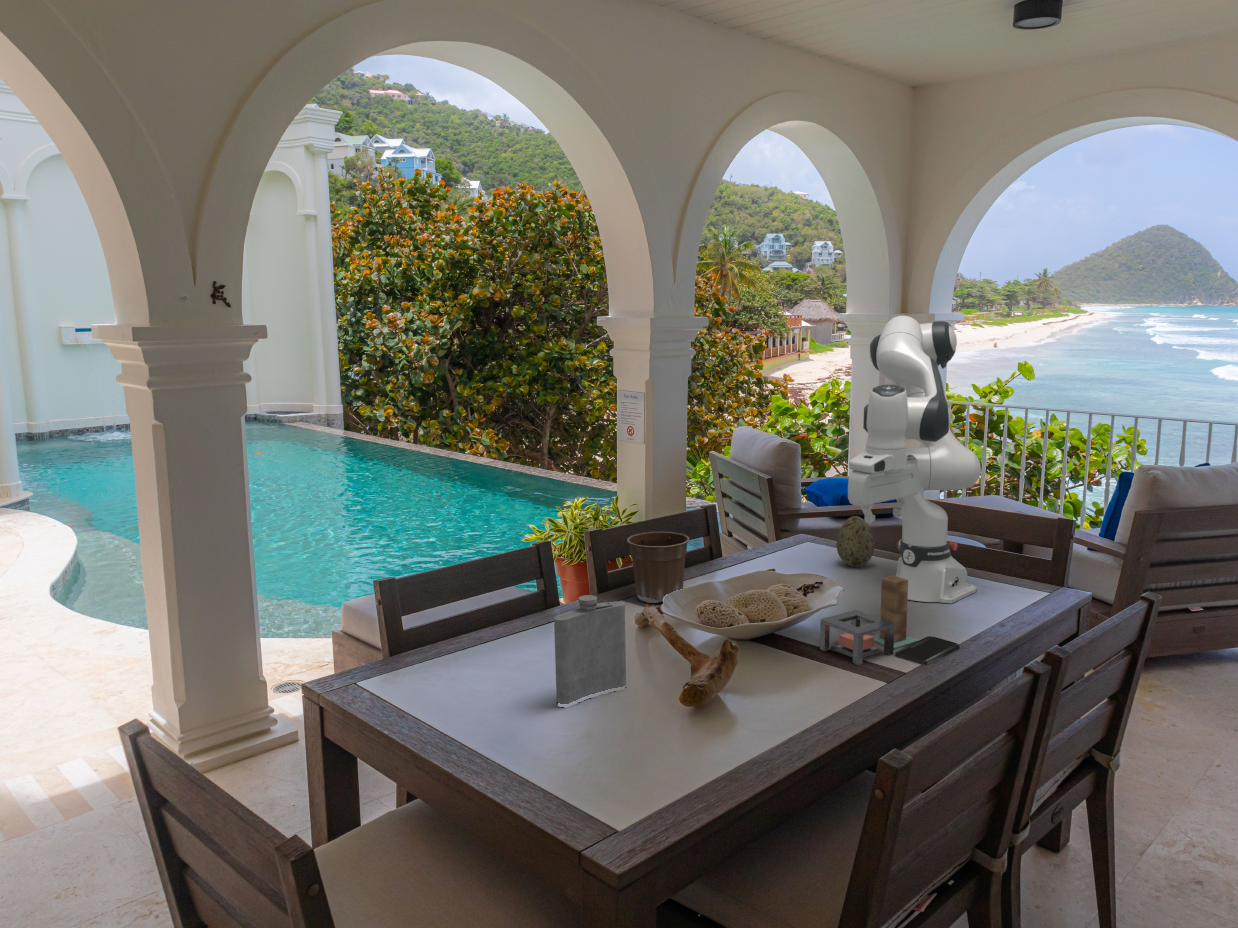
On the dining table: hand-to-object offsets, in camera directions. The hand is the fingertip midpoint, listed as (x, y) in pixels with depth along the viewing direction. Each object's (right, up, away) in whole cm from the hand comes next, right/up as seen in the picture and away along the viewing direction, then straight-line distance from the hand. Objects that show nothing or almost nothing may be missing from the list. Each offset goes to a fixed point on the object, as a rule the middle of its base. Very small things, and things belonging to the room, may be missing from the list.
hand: (884, 519), depth 198 cm
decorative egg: (+10, -18, +61) cm, 64 cm away
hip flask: (-65, -33, -25) cm, 77 cm away
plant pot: (-49, -23, +35) cm, 65 cm away
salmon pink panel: (-8, -27, -6) cm, 29 cm away
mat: (+2, -28, +1) cm, 28 cm away
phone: (+8, -29, -6) cm, 31 cm away
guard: (-8, -29, -5) cm, 30 cm away
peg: (+2, -27, +1) cm, 27 cm away
